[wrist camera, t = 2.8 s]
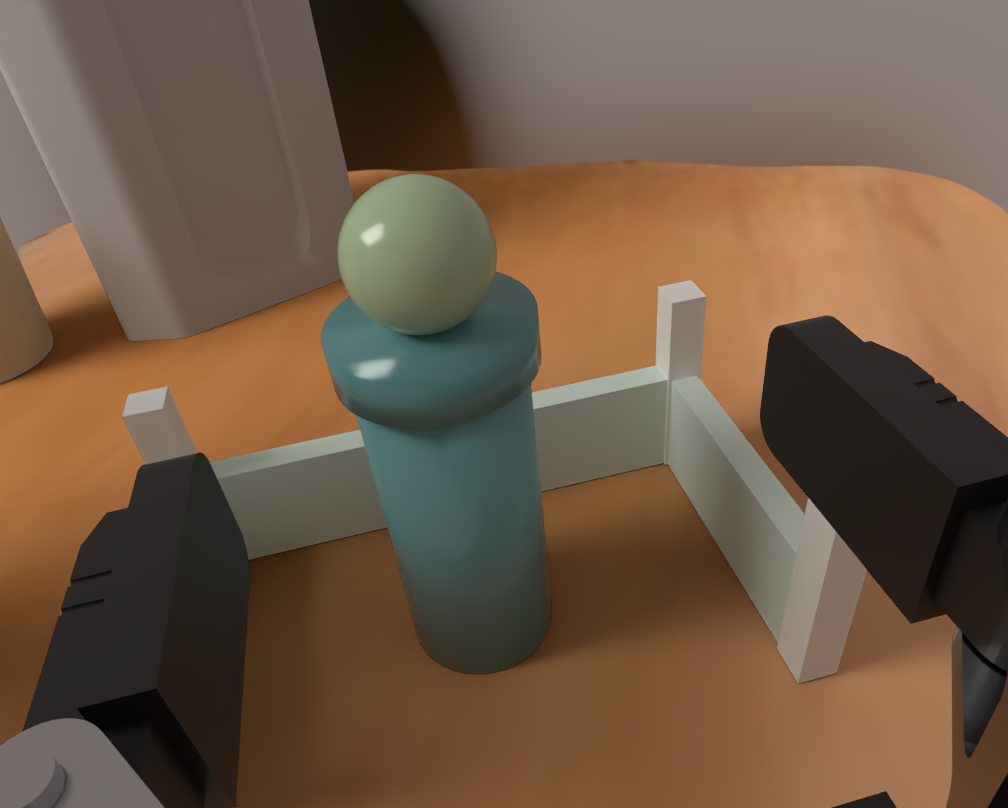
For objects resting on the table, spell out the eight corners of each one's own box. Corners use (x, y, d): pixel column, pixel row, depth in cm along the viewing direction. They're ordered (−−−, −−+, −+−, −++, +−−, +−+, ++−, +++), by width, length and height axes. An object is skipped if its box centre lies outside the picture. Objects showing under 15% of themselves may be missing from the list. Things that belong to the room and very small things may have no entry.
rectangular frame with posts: (836, 673, 27) (889, 493, 22) (167, 857, 24) (36, 704, 19) (681, 439, 38) (691, 280, 32) (205, 548, 35) (128, 394, 30)
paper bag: (333, 331, 50) (183, -216, 33) (122, 341, 51) (-125, -175, 34) (387, 211, 65) (304, -206, 48) (223, 222, 66) (85, -178, 49)
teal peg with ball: (374, 616, 31) (236, 193, 20) (489, 530, 34) (424, 124, 23) (475, 717, 27) (374, 259, 16) (595, 609, 30) (578, 165, 19)
